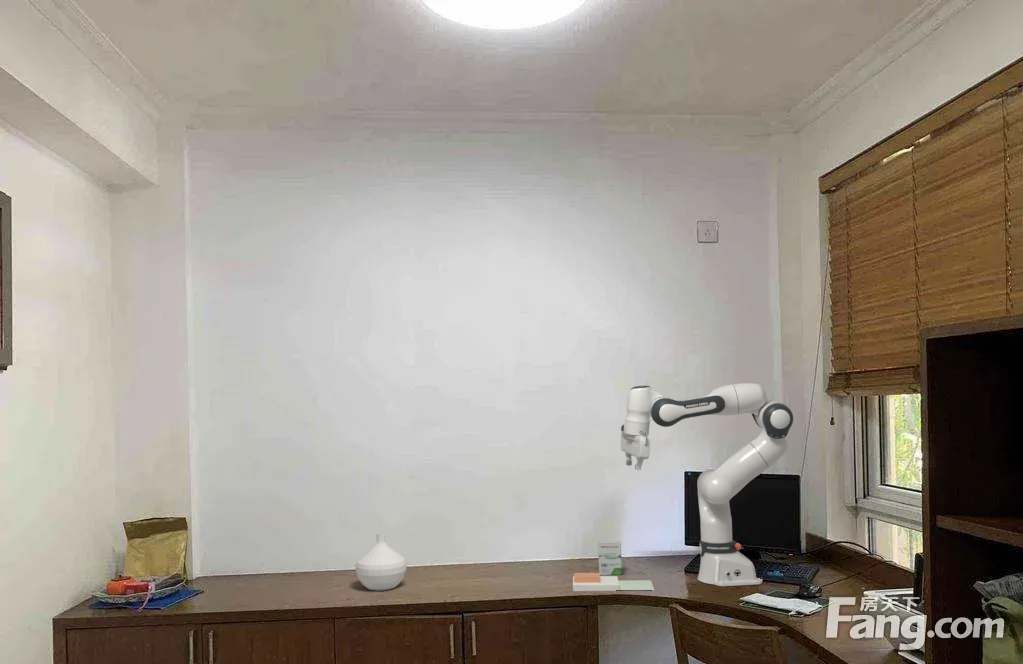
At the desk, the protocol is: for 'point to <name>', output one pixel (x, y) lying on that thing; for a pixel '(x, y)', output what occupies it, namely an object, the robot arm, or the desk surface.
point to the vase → (381, 566)
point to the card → (586, 577)
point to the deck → (598, 584)
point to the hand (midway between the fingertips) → (633, 467)
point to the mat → (636, 585)
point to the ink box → (610, 558)
